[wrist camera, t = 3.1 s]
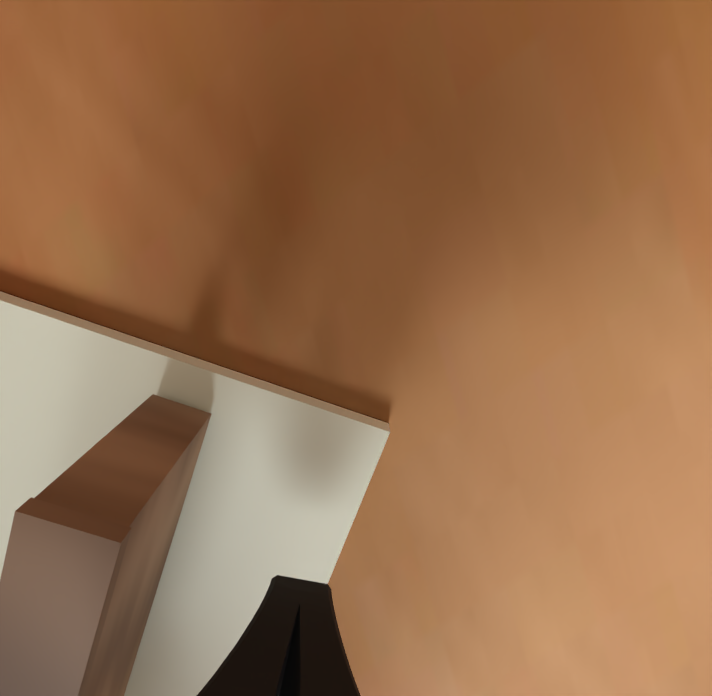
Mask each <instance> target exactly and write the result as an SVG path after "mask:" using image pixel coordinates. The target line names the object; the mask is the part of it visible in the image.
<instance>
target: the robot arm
mask: <svg viewBox="0 0 712 696" xmlns="http://www.w3.org/2000/svg"><path fill="white" fill-rule="evenodd" d="M197 696H360V693H359V691H358V688H357V685H356V683H355V680H354V677H353V674H352V671H351V669H350V665H349V662H348V659H347V656H346V653H345V650H344V646H343V643H342V640H341V636H340V632H339V628H338V624H337V620H336V616H335V611H334V606H333V601H332V594H331V588H330V587H329V585H328V584H325V583H319V582H314V581H308V580H303V579H297V578H291V577H286V576H280V575H277V576H275V577H273V578H272V579H271V582H270V585H269V588H268V590H267V592H266V594H265V597H264V599H263V601H262V602H261V604H260V606H259V608H258V610H257V611H256V613H255V615H254V617H253V618H252V620H251V622H250V623H249V625H248V626H247V628H246V629H245V631H244V633H243V634H242V636H241V637H240V639H239V640H238V642H237V643H236V645H235V646H234V648H233V649H232V650H231V652H230V653H229V654H228V656H227V657H226V659H225V660H224V661H223V663H222V664H221V665H220V667H219V668H218V669H217V671H216V672H215V674H214V675H213V676H212V677H211V679H210V680H209V681H208V682H207V684H206V685H205V686H204V687H203V689H202V690H201V691H200V692H199V693H198V695H197Z"/></svg>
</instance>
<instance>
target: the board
mask: <svg viewBox="0 0 712 696" xmlns="http://www.w3.org/2000/svg"><path fill="white" fill-rule="evenodd" d="M152 394H154V395H157V396H160V397H163V398H166V399H169V400H172V401H175V402H178V403H181V404H184V405H187V406H190V407H193V408H196V409H199V410H202V411H205V412H208V413H211V417H210V421H209V424H208V427H207V430H206V434H205V437H204V440H203V443H202V446H201V450H200V453H199V456H198V459H197V462H196V466H195V469H194V472H193V475H192V479H191V482H190V485H189V488H188V491H187V495H186V498H185V501H184V504H183V507H182V511H181V514H180V517H179V520H178V524H177V527H176V530H175V533H174V536H173V540H172V543H171V546H170V549H169V552H168V556H167V559H166V562H165V565H164V569H163V572H162V575H161V578H160V581H159V585H158V588H157V591H156V594H155V597H154V601H153V604H152V607H151V610H150V614H149V617H148V620H147V623H146V626H145V630H144V633H143V636H142V639H141V642H140V646H139V649H138V652H137V655H136V659H135V662H134V665H133V668H132V671H131V675H130V678H129V681H128V684H127V687H126V691H125V694H124V696H197V695H198V693H199V692H200V691H201V690H202V689H203V687H204V686H205V685H206V684H207V682H208V681H209V680H210V679H211V677H212V676H213V675H214V674H215V672H216V671H217V669H218V668H219V667H220V665H221V664H222V663H223V661H224V660H225V659H226V657H227V656H228V654H229V653H230V652H231V650H232V649H233V648H234V646H235V645H236V643H237V642H238V640H239V639H240V637H241V636H242V634H243V633H244V631H245V629H246V628H247V626H248V625H249V623H250V622H251V620H252V618H253V617H254V615H255V613H256V611H257V610H258V608H259V606H260V604H261V602H262V601H263V599H264V597H265V594H266V592H267V590H268V588H269V585H270V582H271V579H272V578H273V577H275V576H277V575H280V576H286V577H291V578H297V579H303V580H308V581H314V582H319V583H325V584H328V582H329V579H330V577H331V574H332V572H333V569H334V567H335V565H336V562H337V560H338V557H339V555H340V552H341V550H342V548H343V545H344V543H345V540H346V538H347V536H348V533H349V531H350V528H351V526H352V523H353V521H354V519H355V516H356V514H357V511H358V509H359V506H360V504H361V502H362V499H363V497H364V494H365V492H366V489H367V487H368V485H369V482H370V480H371V477H372V475H373V472H374V470H375V468H376V465H377V463H378V460H379V458H380V456H381V453H382V451H383V448H384V446H385V443H386V441H387V439H388V436H389V434H390V428H389V423H386V422H383V421H380V420H377V419H374V418H372V417H369V416H366V415H363V414H360V413H357V412H354V411H351V410H348V409H345V408H342V407H339V406H336V405H333V404H330V403H327V402H324V401H321V400H319V399H316V398H313V397H310V396H307V395H304V394H301V393H298V392H295V391H292V390H289V389H286V388H283V387H280V386H277V385H274V384H271V383H269V382H266V381H263V380H260V379H257V378H254V377H251V376H248V375H245V374H242V373H239V372H236V371H233V370H230V369H227V368H224V367H221V366H219V365H216V364H213V363H210V362H207V361H204V360H201V359H198V358H195V357H192V356H189V355H186V354H183V353H180V352H177V351H174V350H171V349H168V348H166V347H163V346H160V345H157V344H154V343H151V342H148V341H145V340H142V339H139V338H136V337H133V336H130V335H127V334H124V333H121V332H118V331H116V330H113V329H110V328H107V327H104V326H101V325H98V324H95V323H92V322H89V321H86V320H83V319H80V318H77V317H74V316H71V315H68V314H65V313H63V312H60V311H57V310H54V309H51V308H48V307H45V306H42V305H39V304H36V303H33V302H30V301H27V300H24V299H21V298H18V297H15V296H13V295H10V294H7V293H4V292H1V291H0V578H1V574H2V569H3V565H4V560H5V555H6V551H7V546H8V541H9V537H10V532H11V527H12V523H13V518H14V513H15V511H16V510H17V509H18V508H19V507H20V506H21V505H23V504H24V503H25V502H26V501H27V500H28V499H29V498H31V497H32V498H35V497H36V496H37V495H38V494H39V493H40V492H42V491H43V490H44V489H45V488H46V487H47V486H48V485H50V484H51V483H52V482H53V481H54V480H55V479H56V478H58V477H59V476H60V475H61V474H62V473H63V472H64V471H66V470H67V469H68V468H69V467H70V466H71V465H72V464H74V463H75V462H76V461H77V460H78V459H79V458H80V457H82V456H83V455H84V454H85V453H86V452H87V451H88V450H90V449H91V448H92V447H93V446H94V445H95V444H96V443H98V442H99V441H100V440H101V439H102V438H103V437H104V436H106V435H107V434H108V433H109V432H110V431H111V430H112V429H114V428H115V427H116V426H117V425H118V424H119V423H120V422H122V421H123V420H124V419H125V418H126V417H127V416H128V415H130V414H131V413H132V412H133V411H134V410H135V409H136V408H138V407H139V406H140V405H141V404H142V403H143V402H144V401H146V400H147V399H148V398H149V397H150V396H151V395H152Z"/></svg>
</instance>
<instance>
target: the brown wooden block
mask: <svg viewBox="0 0 712 696" xmlns="http://www.w3.org/2000/svg"><path fill="white" fill-rule="evenodd" d="M210 417H211V413H208V412H205V411H202V410H199V409H196V408H193V407H190V406H187V405H184V404H181V403H178V402H175V401H172V400H169V399H166V398H163V397H160V396H157V395H154V394H152V395H151V396H150V397H149V398H148V399H147V400H146V401H144V402H143V403H142V404H141V405H140V406H139V407H138V408H136V409H135V410H134V411H133V412H132V413H131V414H130V415H128V416H127V417H126V418H125V419H124V420H123V421H122V422H120V423H119V424H118V425H117V426H116V427H115V428H114V429H112V430H111V431H110V432H109V433H108V434H107V435H106V436H104V437H103V438H102V439H101V440H100V441H99V442H98V443H96V444H95V445H94V446H93V447H92V448H91V449H90V450H88V451H87V452H86V453H85V454H84V455H83V456H82V457H80V458H79V459H78V460H77V461H76V462H75V463H74V464H72V465H71V466H70V467H69V468H68V469H67V470H66V471H64V472H63V473H62V474H61V475H60V476H59V477H58V478H56V479H55V480H54V481H53V482H52V483H51V484H50V485H48V486H47V487H46V488H45V489H44V490H43V491H42V492H40V493H39V494H38V495H37V496H36V497H35V498H32V497H31V498H29V499H28V500H27V501H26V502H25V503H24V504H23V505H21V506H20V507H19V508H18V509H17V510H16V511H15V513H14V518H13V523H12V527H11V532H10V537H9V541H8V546H7V551H6V555H5V560H4V565H3V569H2V574H1V578H0V696H124V694H125V691H126V687H127V684H128V681H129V678H130V675H131V671H132V668H133V665H134V662H135V659H136V655H137V652H138V649H139V646H140V642H141V639H142V636H143V633H144V630H145V626H146V623H147V620H148V617H149V614H150V610H151V607H152V604H153V601H154V597H155V594H156V591H157V588H158V585H159V581H160V578H161V575H162V572H163V569H164V565H165V562H166V559H167V556H168V552H169V549H170V546H171V543H172V540H173V536H174V533H175V530H176V527H177V524H178V520H179V517H180V514H181V511H182V507H183V504H184V501H185V498H186V495H187V491H188V488H189V485H190V482H191V479H192V475H193V472H194V469H195V466H196V462H197V459H198V456H199V453H200V450H201V446H202V443H203V440H204V437H205V434H206V430H207V427H208V424H209V421H210Z"/></svg>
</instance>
